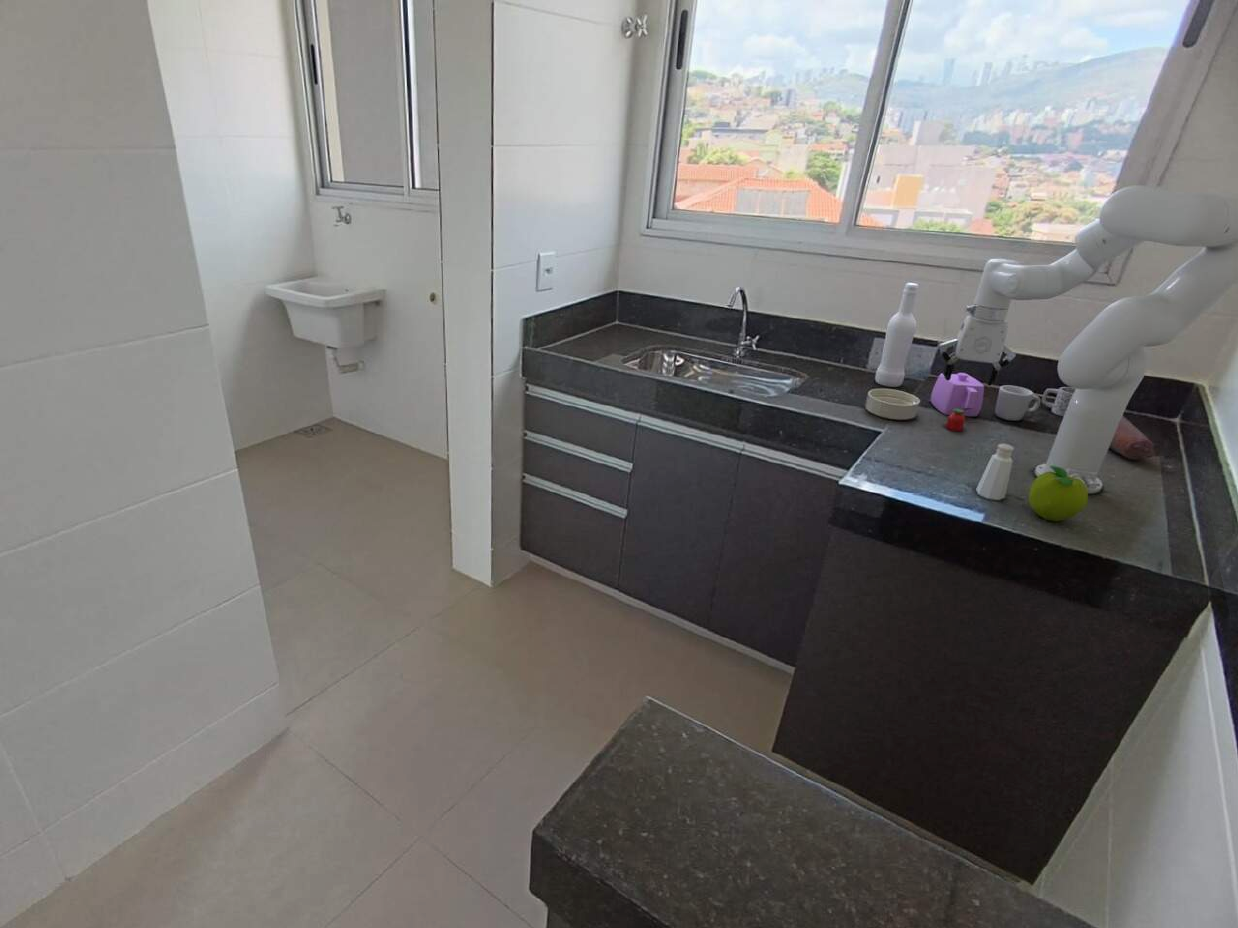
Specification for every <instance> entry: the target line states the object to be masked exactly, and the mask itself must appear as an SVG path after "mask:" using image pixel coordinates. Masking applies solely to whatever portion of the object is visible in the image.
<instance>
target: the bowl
mask: <svg viewBox="0 0 1238 928" xmlns="http://www.w3.org/2000/svg"><path fill="white" fill-rule="evenodd" d="M920 405H921V400H920V398H919V397H918V396H915V395H914V394H911V393H909V392H906V391H903V390H898V389H892V388H874V389H870V390H869V391H868V392H867V394H866V400H865V404H864V407H865V409H866V410H867V411H868V412H870V413H871V414H873V415H874V416H878V417H879V418H880V417H881V418H884V419H889V420H893V421H895V420H896V421H903V420H911V419H915V418H916V416H918V413H919V408H920Z"/></svg>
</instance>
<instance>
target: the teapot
mask: <svg viewBox="0 0 1238 928" xmlns="http://www.w3.org/2000/svg"><path fill="white" fill-rule="evenodd" d="M984 393H985V385H984V384H983V383H981V381H979V380H978V379H976V378H975V377H973V376H971V375H969V374H968V373H966V372H958V373H955V374H954V373H952V374H951V378H950V380H946V379H945V377H944V375H943V373H940V374H939V376H938V377H937V379H936V381H935V384H934V386H933V388H932V391H931V394H930V403H931V404H932V406H933V407H935V409H937V410H938V411H940V412H941V413H942V414H944V415H945V416H946V415H947V416H949V415H950V414H951V413H953V412H954V409H961V410H963V411H964V414H963V415H964V416H965V417H977V416H978V415H979V413H981V410H982V407H983V406H982V405H983V401H984Z"/></svg>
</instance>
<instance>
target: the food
mask: <svg viewBox="0 0 1238 928" xmlns="http://www.w3.org/2000/svg"><path fill="white" fill-rule="evenodd" d="M1109 449H1111V450H1112V451H1115V452H1116V453H1117V454H1119V455H1121V456H1122V457H1124V458H1126V459H1128V460H1131V461H1135V460H1143V459H1147V458H1153V457H1154V456H1155V454H1156V451H1155V446H1154V443H1153V442H1152V441H1151V440H1150V439H1149V438H1148V437H1147V436H1146V435H1145V434H1144V433H1143V432H1141V430H1139V428H1137V426H1135V425H1134V424H1133V423H1132V422H1131V421H1130V420H1128V418H1126V417H1125V416H1124V415H1123V416H1122V418H1121V420H1120V422H1119V425H1118V427H1117V429H1116V432H1115V434H1114V437H1113V439H1112V441H1111V444H1110V446H1109Z"/></svg>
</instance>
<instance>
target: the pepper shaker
mask: <svg viewBox="0 0 1238 928" xmlns="http://www.w3.org/2000/svg"><path fill="white" fill-rule="evenodd" d="M1014 450H1015V448H1014V446H1012V445H1010V444H1008V443H999V444H998V445H997V449H996V453H995V454H992V455H991V457H990V458H989V461H988V463H987V465H986V467H985V470H984V471H983V474H982V476H981V478H980V480H979V482H978V484H977V486H976V488H975V492H976V493H977V494H978V496H980V497H983V498H985V499H987V500H992V501H1000V500H1003V499H1005V498H1006V494H1007V490H1008V484H1009V481H1010V480H1009V479H1010V475H1011V471H1012V467H1013V459H1012V458H1011V456H1012V454H1013V451H1014Z"/></svg>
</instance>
